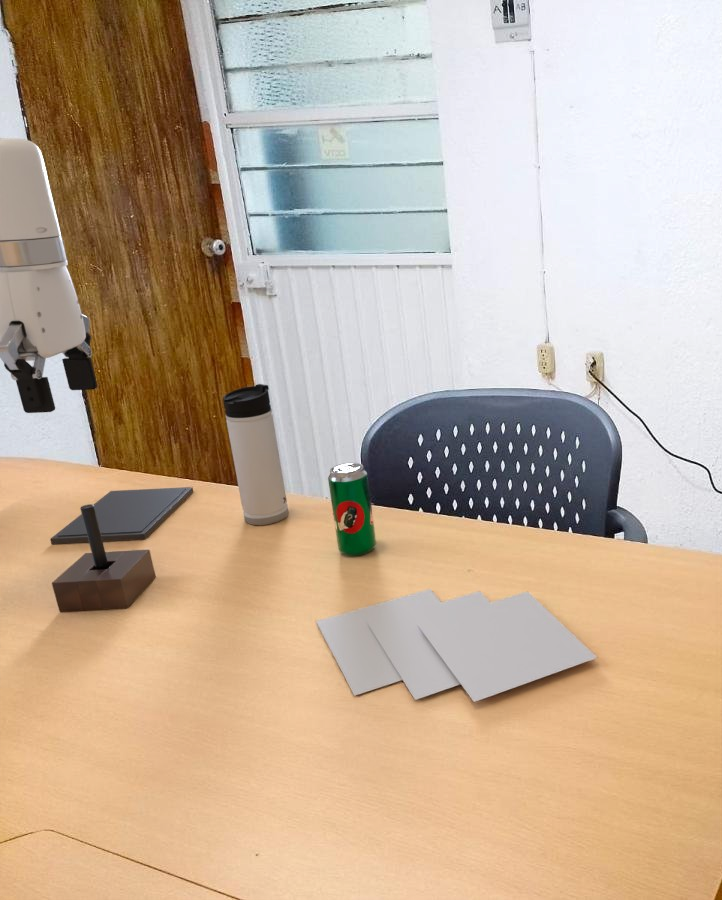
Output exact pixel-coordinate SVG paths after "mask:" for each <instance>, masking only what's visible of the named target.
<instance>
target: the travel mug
mask: <svg viewBox="0 0 722 900" xmlns="http://www.w3.org/2000/svg"><path fill="white" fill-rule="evenodd" d="M269 390H270V388H269V385H268V384H263V383H258V384H254V385H252V386H246V387H240V388H238V389H237V388H236V389H234V390H232V391H230V392H228V393H226V394H225V395H224V396H223V397H222V403H223V407H224V413H225V419H226V420H225V422H226V427H227V432H228V437H229V443H230V448H231V453H232V458H233V459H232V460H233V464H234V465H233V466H234V470H235V474H236V476H235V477H236V481H237V487H238V491H239V497H240V502H241V507H242V512H243V519H244V521H245V522H246V523H247V524H249V525H253V526H266V525H272V524H276V523H279V522H281V521H282V520H284V519H286V518H287V516H288V515H289V513H290V512H289V506H288V500H287V494H286V487H285V482H284V476H283V469H282V464H281V458H280V451H279V445H278V439H277V433H276V427H275V421H274V415H273V409H272V406H271V400H270V394H269Z"/></svg>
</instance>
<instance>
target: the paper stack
mask: <svg viewBox="0 0 722 900" xmlns="http://www.w3.org/2000/svg"><path fill="white" fill-rule="evenodd" d="M315 623H316V624H317V626H318V628H319V631H320V632H321V634H322V636H323V638H324V640H325V642H326V644H327V645H328V648H329V650H330V651H331V653H332V655H333V657H334V659H335V661H336V663H337V665H338V667H339V669H340V671H341V673H342V675H343V676H344V678H345V680H346V682H347V684H348V686H349V688H350V690H351V692H352V694H353V696H358V695H361V694H365V693H368V692H370V691H373V690H376V689H379V688H383V687H386V686H389V685H392V684H395V683H398V682H400V681H403V683H404V684H405V686H406V688H407V690H408V691H409V692H410V694H411V695H412V698H413V699H414V701H416V700H419V699H422V698H425V697H428V696H431V695H434V694H436V693H441V692H443V691H446V690H448V689H451V688H454V687H457V686H461V687H462V688H463V690H464V691H465V692H466V693H467V694H468V696H469V698H470V699H471V700H472V701H473V703H477V702H478V701H481V700H485V699H487V698H489V697H492V696H496V695H498V694H500V693H504V692H506V691H510V690H513V689H514V688H517V687H521V686H524V685H526V684H529V683H532V682H534V681H537V680H541V679H543V678H545V677H548V676H551V675H554V674H557V673H560V672H561V671H562V672H563V671H565V670H568V669H571V668H573V667H576V666H579V665H581V664H585V663H587V662H590V661H593V660H595V659H598V657H597V655H596V654H594V652H592V651H591V650H590V649H589V648H588V647H587V646H586V645H585V644H584V643H583V642H582V641H581V640H580V639H579V638H578V637H577V636H576V635H574V633H572V631H570V630H569V629H568V628H567V627H566V626H565V625H564V624H563V623H562V622H561V621H560V620H559V619H558V618H557V617H556V616H555V615H554V614H552V613H551V611H549V610H548V608H546V607H545V606H544V605H543V604H542V603H541V602H540V601H538V599H536V597H534V596H533V594H532V593H530V592H529V591H527V590H526V591H524V592H521V593H518V594H514V595H511V596H507V597H504V598H500V599H497V600H494V601H490V600H489V598H487V597H486V596H485V595H484V594H483V592H482V591H481V590H479V591H474V592H472V593H468V594H465V595H461V596H458V597H457V596H456V597H454V598H451V599H447V600H444V601H441V600H440V599H439V597H438V596H437V595H436V594H435V593H434V591H433V590H432V589H431V588H428V589H425V590H421V591H418V592H414V593H411V594H408V595H407V594H406V595H404V596H400V597H396V598H393V599H390V600H385V601H383V602H379V603H376V604H372V605H368V606H364V607H360V608H358V609H357V608H356V609H354V610H351V611H347V612H343V613H340V614H337V615H333V616H329V617H326V618H325V617H324V618H321V619H319V620H316V621H315Z"/></svg>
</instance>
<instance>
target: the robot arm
mask: <svg viewBox="0 0 722 900" xmlns="http://www.w3.org/2000/svg"><path fill="white" fill-rule="evenodd" d="M53 199H54V198H53V195H52V191H51V187H50V183H49V179H48V173H47V169H46V165H45V161H44V158H43V154H42V151H41V149H40V148H39V146H38V145H37V144H36V143H35V142H33V141H31V140H29V139H24V138H4V137H3V138H2V137H1V138H0V359H1V361H2V363H3V366H4V369H5V370H7V372H9V374H10V377H11V379H12V380H13V381H15V383H16V386H17V390H18V394H19V398H20V401H21V405H22V408H23V411H24V412H25V413H26V414H38V413H40V414H41V413H52V412H54V411H55V410H56V405H55V401H54V396H53V393H52V390H51V385H50V382H49V378H48V376H44V370H45V366H46V359H48V358H52V357H54V356H57V355H61V354H63V355H64V358H62V365H63V368H64V373H65V376H66V380H67V384H68V388H69V390H70V391H91V390H92V391H93V390H96V389H97V388H98V386H99V385H98V382H97V377H96V373H95V368H94V365H93V360H92V355H93V350H92V348H91V347H90V345H91V340H92V338H91V337H92V336H91V334H90V319H89V317H87V316H86V315H84V314H83V313H82V310H81V305H80V302H79V299H78V295H77V293H76V289H75V286H74V282H73V280H72V277H71V275H70V272H69V270H68V268H67V266H68V265H69V263H68V259H67V255H66V249H65V246H64V245H65V244H64V242H63V241H64V240H63V237H62V234H61V229H60V225H59V219H58V216H57V211H56V208H55V204H54V200H53ZM28 361H29V362H30V361H33V362H32V365H31V364H30V363H29V362H28Z"/></svg>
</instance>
